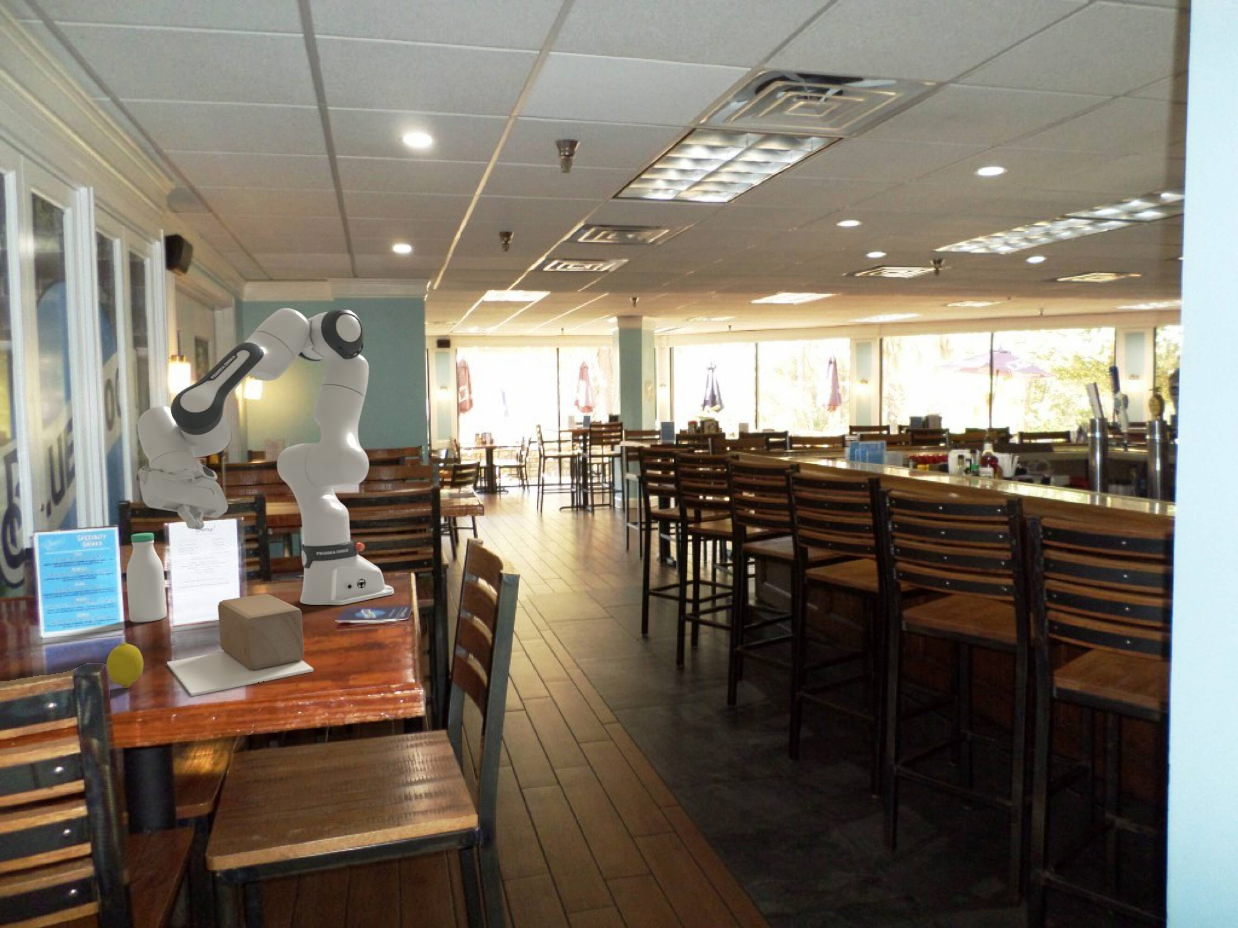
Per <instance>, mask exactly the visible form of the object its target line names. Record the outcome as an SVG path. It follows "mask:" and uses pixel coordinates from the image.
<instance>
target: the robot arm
mask: <svg viewBox="0 0 1238 928" xmlns="http://www.w3.org/2000/svg"><path fill="white" fill-rule="evenodd" d="M363 349H364V327H363V323H362V321H361V318H360V317H359V316H358V315H357V314H356V313H354V312H353V311H351V310H349V309H343V308H338V309H337V308H335V309H330V310H329V311H326V312H325V311H324V312H321V313H318V314H316V315H314V316H312V317H310V318H306V317H305V315H303V314H302V313H301V312H299V311H298V310H295V309H294V308H289V307H283V308H280V309H278V310H276V311H274V312H273V313H272V314H271V315H269V316H268V317H267V318H266V319H265V320H264V321H263V322H261V324H260V325H258V327H257V328H256V329H255V330H254V331H253V333H251V335H250V336H249V337H248V338H247V339H246V340H245V341H243V342H241V343H240V344H238V345H237V346H235V347H234V348H233V349H232V350H230V351H229V352H228V353H226V354H225V356H224V357H222V359H221V360H220V361H218V362H217V364H216V365H214V366H213V367H212V369H210V370H209V371H208V372H207V373H206V374H205V375H204V376H203V377H202V378H200V380H198V381H196V382H195V383H193V384H192V385H190V386H188V387H185V388H184V389H183V390H181V391H180V392H179V393H177V395H175V397H173V400H172V402H171V405H170V406H167V405H157V406H156V405H155V406H153V407H151V408H149V409H147V410H145V411H144V412H143V413H142V414H141V416H139V418H138V420H137V434H138V439H139V442H140V446H141V449H142V450H143V453H144V455H145V456H146V457H147V459H148V466H142V467H140V468H139V469H138V471H137V475H138V478H139V488H140V489H139V490H140V495H141V498H142V501H143V504H145V505H146V506H147V507H148V508H150V509H151V508H152V509H157V510H165V511H171V512H176V513H177V514H178V516H179V517H180V518H181V519H182V520H183V521H184V522H185V524H186V527H187V529H192V530H198V531H199V530H202V529H203V528H204V527H205V522H204V520H203V518H204V517H207V518H212V519H218V518H219V517H221V516H223V515H224V514H226V512H227V511H228V508H229V505H228V501H227V499H226V496H225V493H224V491H223V488H222V487H221V486H220V484H219V483H218V482H217V481H216V480H218V474H217V473H216V472H215V471H214V470H213V469H210V468H208V467H207V466H205V465H204V464H202V463H200V461H198V460H196V459H199V458H204V457H207V456H208V457H209V456H213V455H217V454H219V453H221V452H223V451H224V450H226V448H228V446H229V445H230V443H231V441H232V430H231V427H230V424H229V420H228V419H227V415H226V413H225V406H226V401H227V399H228V397H229V396H230V395H231V394H232V393H233V392H234V391H235V390H236V389H237V388H238V387H239V386H240V385H241V384H242V383H243V382H244V380H245V379H246V378H248V377H251V378H254V379H256V380H258V381H259V380H260V381H265V382H269V381H274V380H277V379H278V378H280V377H281V376H282V375H284V373H286V371H287V370H288V369H290V367H291V366H292V364H293V363H294V362H295V360H296V359H297V358H298V357H300V358H301V359H303V360H306V361H310V362H320V361H323V366H324V375H323V378H322V381H321V385H320V388H319V391H318V394H317V398H316V402H315V405H314V409H313V411H312V412H313V413H312V417H313V420H314V422H315V423H316V424H317V425H318V426H319V427H320V439H319V442H308V443H307V442H306V443H299V444H294V445H291V446H288V447H286V448H285V449H283V450H282V451H281V452H280V453H279V455H278V458H277V462H276V468H277V469H276V470H277V474H278V475H279V477H280V478H281V480H283V481H284V482H285V483H286V485H287V486H288V487H289V488H290V490H291V491H292V493H293V495H294V498H295V499H296V502H297V505H298V509H299V512H300V517H301V527H302V539H303V540H302V541H303V544H302V545H301V562H302V566H303V582H302V584H303V585H302V590H301V596H300V599H299V602H300V603H301V604H305V605H312V606H313V605H315V606H316V605H317V606H318V605H319V606H322V605H331V606H343V605H347V604H354V603H359V602H363V601H367V600H371V599H377V598H381V597H386V596H390V595H391V596H392V595H393V594H394V593H395V590H394V589H395V588H394V587H393V586H391V585H388V584H385V579H384V576H383V572H382V570H381V568H379V566H378V565H375V564H374V563H372V562H371V561H369V560H367V559H366V558H364V557H363V556H361V555H359V552H363V551H364V550H365V548H366V546H365V544H364V543H363V542H359V541H358V542H355V541H353V540H351V529H350V513H349V511H348V507H346V506H345V505H344V504H343V503H342V502H340V500H339V499H338V497H337V495H336V493H335V490H334V488H339V489H341V488H347V487H352V486H355V485H358V484H361V483H362V482H363V481H364V480H365V479H366V478H367V476H368V473H369V469H370V462H369V461H370V460H369V458H368V455H367V453H366V452H365V450H364V449H363V447H362V446H361V444H360V440H359V425H360V424H359V423H360V418H361V414H362V411H363V406H364V403H365V399H366V396H367V395H366V394H367V390H368V383H369V375H370V372H369V370H370V365H369V363H368V360H367V359H366V358H365V357H364V356H363V355H361V353H362V351H363Z"/></svg>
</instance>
